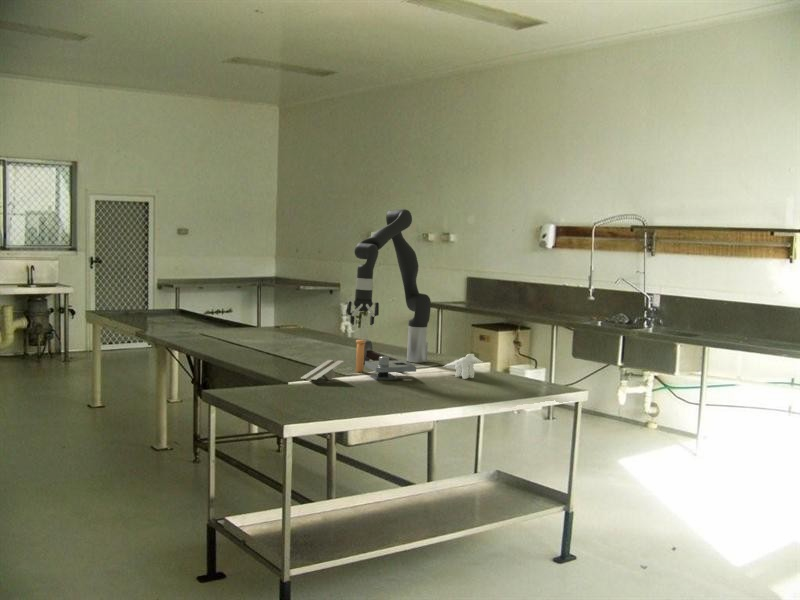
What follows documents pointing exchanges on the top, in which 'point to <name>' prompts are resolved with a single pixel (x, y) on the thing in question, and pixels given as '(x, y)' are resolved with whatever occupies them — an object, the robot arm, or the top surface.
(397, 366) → the plate with round knob
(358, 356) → the pin
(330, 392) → the top surface
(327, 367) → the gray slanted slat stand
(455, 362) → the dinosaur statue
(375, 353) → the hammer
